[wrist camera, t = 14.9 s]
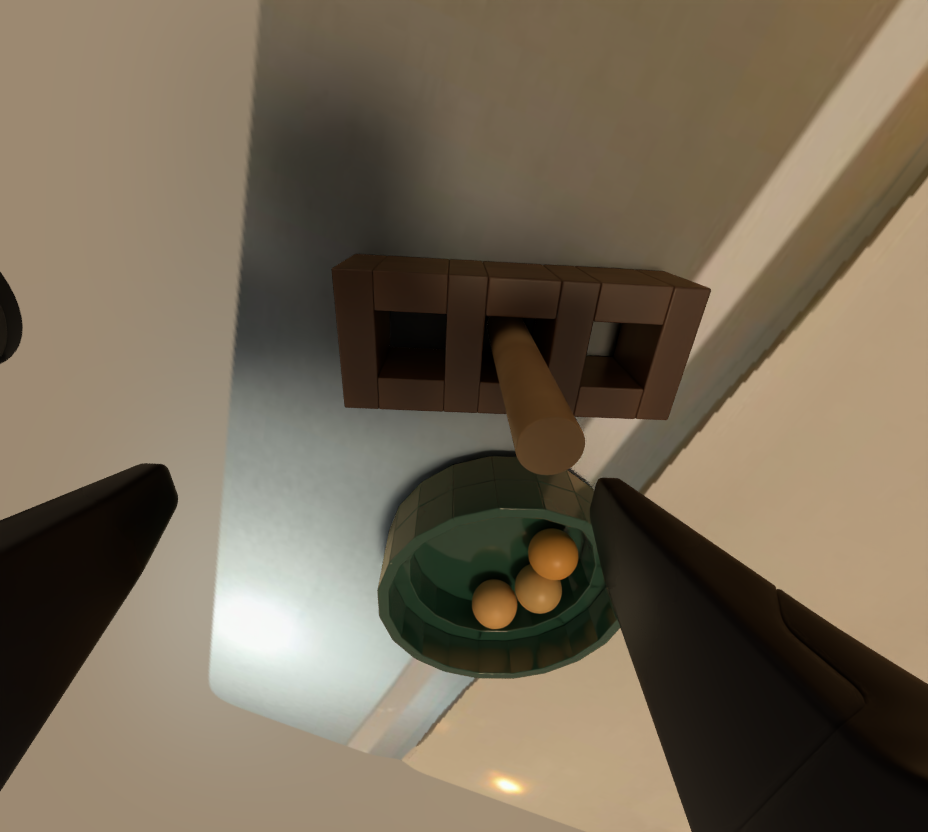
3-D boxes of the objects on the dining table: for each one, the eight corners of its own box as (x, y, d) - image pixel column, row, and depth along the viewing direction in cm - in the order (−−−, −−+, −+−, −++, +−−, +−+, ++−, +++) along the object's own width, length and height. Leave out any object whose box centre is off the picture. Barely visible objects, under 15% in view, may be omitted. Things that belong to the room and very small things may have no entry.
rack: (362, 372, 21) (344, 408, 18) (354, 253, 18) (330, 267, 15) (633, 384, 22) (668, 420, 18) (665, 271, 19) (712, 288, 16)
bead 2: (519, 555, 24) (544, 598, 24) (565, 533, 23) (591, 577, 23) (518, 533, 27) (541, 571, 27) (560, 512, 26) (583, 551, 26)
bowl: (393, 607, 30) (383, 677, 26) (386, 446, 23) (371, 504, 19) (582, 610, 31) (603, 679, 26) (629, 454, 24) (668, 513, 20)
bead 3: (548, 595, 24) (578, 603, 25) (532, 550, 26) (560, 559, 28) (513, 619, 25) (543, 624, 27) (500, 573, 27) (529, 581, 29)
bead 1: (474, 641, 26) (455, 595, 27) (501, 620, 29) (483, 578, 29) (507, 633, 25) (487, 584, 25) (533, 612, 27) (513, 567, 28)
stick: (499, 350, 21) (539, 486, 11) (479, 322, 20) (501, 442, 10) (529, 329, 20) (598, 453, 11) (509, 300, 20) (563, 404, 10)
